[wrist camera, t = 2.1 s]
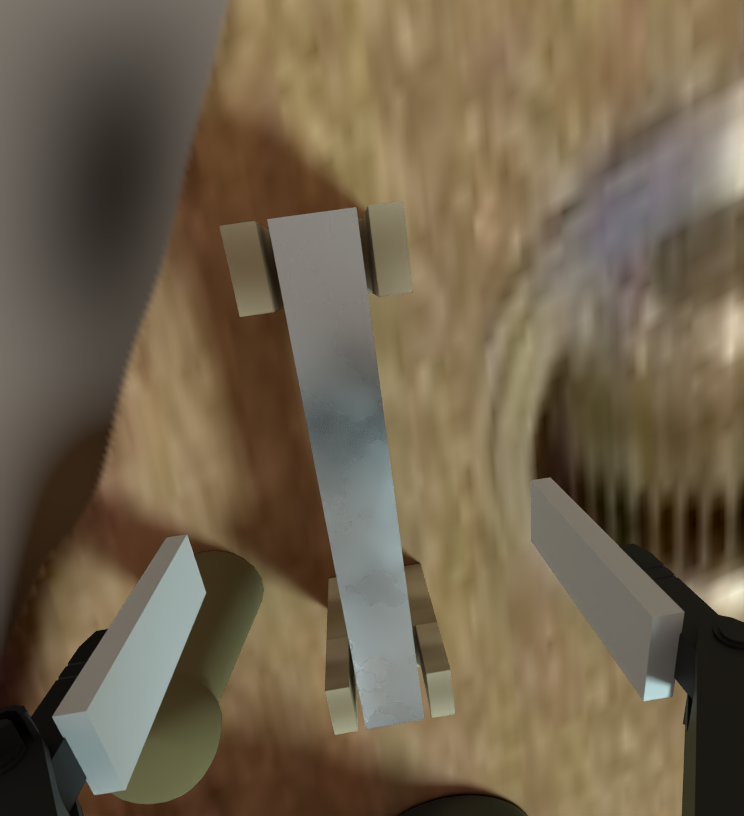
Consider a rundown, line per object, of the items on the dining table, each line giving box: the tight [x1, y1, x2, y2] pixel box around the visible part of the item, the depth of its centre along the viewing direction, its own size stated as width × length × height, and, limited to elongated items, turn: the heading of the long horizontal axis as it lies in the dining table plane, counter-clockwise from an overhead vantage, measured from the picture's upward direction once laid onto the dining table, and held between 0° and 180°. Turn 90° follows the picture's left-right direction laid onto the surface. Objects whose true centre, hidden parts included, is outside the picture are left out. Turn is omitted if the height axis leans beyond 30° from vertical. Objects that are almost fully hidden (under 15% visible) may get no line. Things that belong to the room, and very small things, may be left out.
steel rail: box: [267, 207, 424, 729], centre depth 19 cm, size 24×3×3 cm, turn 7°
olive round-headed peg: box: [110, 551, 264, 804], centre depth 22 cm, size 6×6×11 cm
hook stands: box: [219, 201, 455, 735], centre depth 22 cm, size 24×6×8 cm, turn 7°
